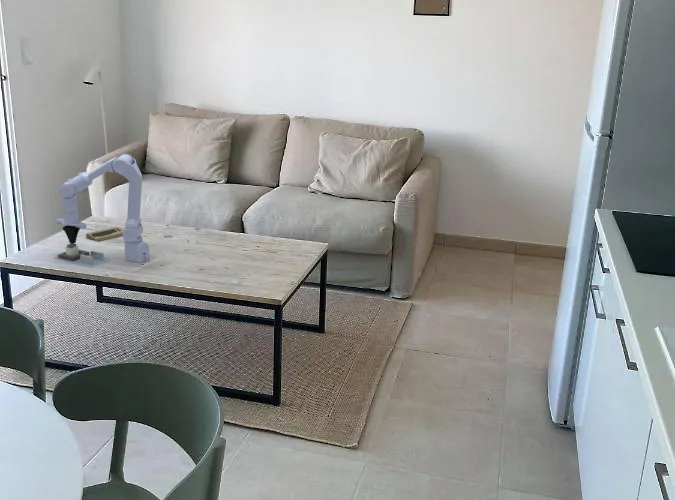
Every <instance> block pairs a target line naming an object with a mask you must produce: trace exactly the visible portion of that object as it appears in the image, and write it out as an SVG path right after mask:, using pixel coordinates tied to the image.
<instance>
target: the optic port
mask: <svg viewBox="0 0 675 500" xmlns="http://www.w3.org/2000/svg"><path fill="white" fill-rule="evenodd" d="M78 251H79V254H78V255H75V256H69V255H66V251H65V252H62V253H59V254H58V255H57V257H59V258H61V259H65V260H69V261H76V260H78V259H80V255H87V256H89V254H90V251H86V250H82V249H79V248H78Z"/></svg>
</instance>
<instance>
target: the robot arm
mask: <svg viewBox="0 0 675 500" xmlns="http://www.w3.org/2000/svg"><path fill="white" fill-rule="evenodd" d="M106 173H116V174H118V175H120V176H122V177H124V178H125V179H126V180H127V181H128V196H127V197H128V198H127V199H128V200H127V213H126V214H127V215H126V217H127V218H126V222H125V225H124V227H125V228H124V229H123V230H124V231H123V234H122V235H123V236H122V238H123V243H124V255H125V256H124V257H125V261H128V262H133V263H134V262H135V263H140V264H141V263H143V262H145V261H147V260H150V247H149V243H147V242H145V241H144V240H143V238H142V234H143V232H144V227H143V225H142V218H141V207H142V206H141V205H142V204H141V203H142V188H143V186H142V185H143V174H142V173H141V170H140V168H139V166H138V164H137V160H136V159H135V158H134V157H133V156H132V155H130V154H128V153H123V154H121V155H119V156H116V157H113V158H111V159H109V160H107V161H105V162H104V163H102V164H101V165H99V166H97V167H96V168H95V169H93V170H91V171H90V172H86V171H83V172H82V171H79V172H78V173H77V174H76V176H74V177H72V178H69V179H67V180H66V181H65V182H64V183H62V184H61V185H60V186H59V188H58V193H59V195H60V196H61V205H62V207H61V208H62V217H61V218H60V217H59V218H55V219H56V224H57V225H62V230H63V231H64V233H65V235H66V237H67V239H68V242H69V244H73V243H74V244H77V243H76V242H77V238H78V234H79V232H80V230H86V229H87V224H86V223H84V222H82V221H80V220H79V212H78V201H77V200H78V199H77V193H79V192H81V191H83V190H85V189H86V188H87V187H89V186H91V185H92V184H93V180H95V179H97V178H98V177H100V176H103V175H104V174H106Z"/></svg>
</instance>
